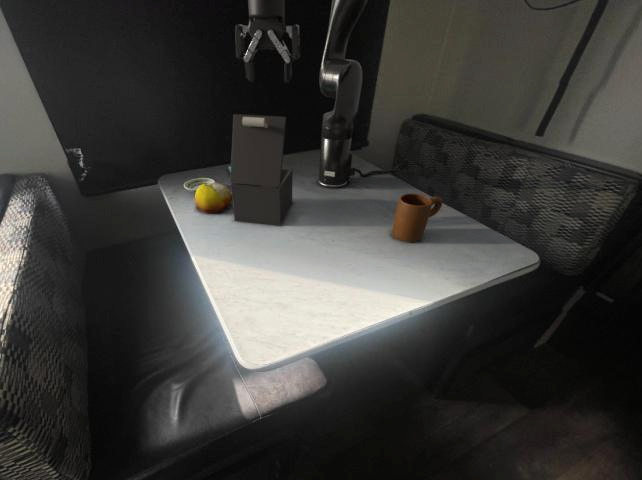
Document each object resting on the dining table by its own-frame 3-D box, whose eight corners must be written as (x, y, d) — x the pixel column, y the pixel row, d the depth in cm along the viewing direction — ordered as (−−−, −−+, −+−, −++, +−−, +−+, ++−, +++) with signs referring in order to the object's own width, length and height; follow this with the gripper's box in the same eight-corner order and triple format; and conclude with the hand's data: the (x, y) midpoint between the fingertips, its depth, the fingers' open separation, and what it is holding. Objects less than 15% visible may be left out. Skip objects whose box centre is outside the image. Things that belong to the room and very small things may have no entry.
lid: (234, 115, 79) (226, 108, 74) (286, 117, 77) (281, 111, 72) (231, 183, 83) (223, 181, 78) (280, 187, 81) (275, 185, 76)
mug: (423, 223, 88) (433, 188, 82) (443, 236, 83) (455, 200, 77) (384, 231, 85) (392, 195, 79) (403, 245, 80) (413, 208, 74)
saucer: (199, 182, 110) (198, 175, 108) (222, 188, 106) (221, 181, 104) (178, 192, 103) (176, 185, 102) (202, 199, 100) (200, 191, 98)
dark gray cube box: (251, 198, 100) (248, 165, 94) (292, 202, 98) (292, 169, 92) (234, 220, 89) (230, 184, 83) (280, 225, 87) (279, 189, 81)
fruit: (238, 210, 93) (227, 184, 87) (204, 225, 93) (190, 200, 87) (232, 194, 101) (221, 169, 95) (200, 207, 101) (187, 183, 95)
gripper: (304, -12, 69) (301, 81, 79) (238, -12, 71) (244, 79, 82) (296, -15, 63) (295, 86, 74) (226, -14, 66) (234, 83, 76)
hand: (268, 82), depth 78 cm, fingers open, 8 cm apart
